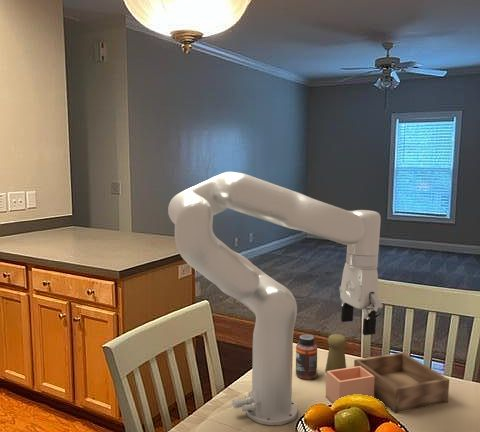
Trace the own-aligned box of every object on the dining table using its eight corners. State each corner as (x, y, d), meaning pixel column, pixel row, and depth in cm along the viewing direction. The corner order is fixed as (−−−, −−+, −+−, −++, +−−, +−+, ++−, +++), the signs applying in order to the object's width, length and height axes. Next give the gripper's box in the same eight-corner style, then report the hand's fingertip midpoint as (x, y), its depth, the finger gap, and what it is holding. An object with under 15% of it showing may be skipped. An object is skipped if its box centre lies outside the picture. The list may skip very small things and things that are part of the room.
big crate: (394, 413, 117) (395, 389, 116) (353, 380, 134) (354, 359, 133) (447, 402, 122) (449, 379, 122) (401, 372, 139) (402, 352, 138)
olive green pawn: (346, 378, 135) (348, 340, 134) (324, 376, 136) (326, 338, 135) (346, 368, 141) (347, 332, 140) (325, 366, 142) (326, 330, 141)
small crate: (338, 409, 118) (339, 382, 118) (325, 397, 124) (326, 371, 124) (373, 402, 122) (374, 376, 121) (359, 391, 128) (360, 365, 127)
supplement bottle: (320, 374, 138) (321, 335, 136) (311, 382, 133) (312, 342, 131) (301, 369, 141) (301, 331, 139) (291, 376, 136) (292, 337, 134)
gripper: (330, 254, 126) (326, 317, 128) (369, 268, 110) (364, 341, 112) (355, 253, 129) (351, 315, 131) (396, 267, 113) (391, 338, 115)
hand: (357, 327), depth 121 cm, fingers open, 9 cm apart
